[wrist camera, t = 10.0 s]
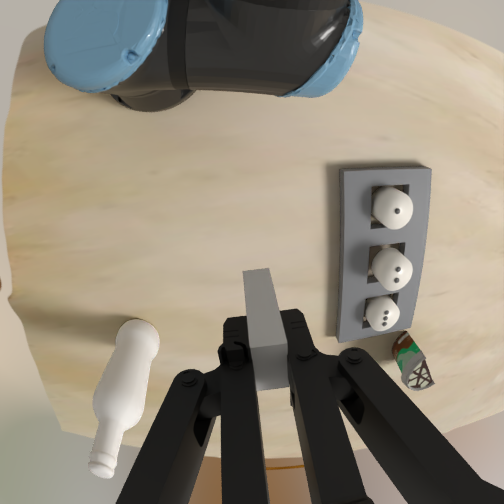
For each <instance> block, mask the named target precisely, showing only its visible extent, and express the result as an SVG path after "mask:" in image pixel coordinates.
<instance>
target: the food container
mask: <svg viewBox="0 0 504 504" xmlns="http://www.w3.org/2000/svg"><path fill="white" fill-rule="evenodd" d="M392 353H393V356H394V358H395V360H396V362H397V364H398V366H399V368H400V371H401V373H402V376H401V380H402V382H403V383H404V384H405V385H406V386H407V387H408V388H409V389H411V390H414V391H419V390H423V389H426V388H429V387H430V386H432V385H434V384H435V383H434V381H433V380H432V378H431V375H430V372H429V369H428V366H427V364H426V361H425V359H426V357H425V356H424V354H423V353H422V351H421V350H420V349H419V348H418V346H417V345H416V343H415V342H414V341H413V339H412V338H411V336H410V335H409V334H408V332H407V331H405V332H404V333H402V334H401V335H400V336H399V337H398V338H397V340H396V341H395V343H394V345H393V348H392Z"/></svg>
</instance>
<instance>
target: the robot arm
mask: <svg viewBox="0 0 504 504" xmlns="http://www.w3.org/2000/svg"><path fill="white" fill-rule="evenodd" d="M362 29H363V12H362V8H361V5H360V3H359V2H358V0H60V1H59V2H58V4H57V5H56V7H55V8H54V10H53V12H52V14H51V16H50V18H49V21H48V24H47V27H46V31H45V36H44V54H45V59H46V62H47V65H48V67H49V69H50V71H51V72H52V73H53V74H54V75H55V77H56V78H57V79H58V80H59V81H60V82H62V83H63V84H65V85H67V86H70V87H73V88H75V89H77V90H79V91H81V92H87V93H97V92H101V93H108V94H111V96H112V97H113V98H114V99H115V100H116V101H117V102H119V103H120V104H122V105H123V106H125V107H127V108H129V109H132V110H136V111H142V112H158V111H163V110H167V109H170V108H173V107H175V106H177V105H179V104H181V103H182V102H184V101H185V100H187V99H188V98H189V97H190V96H191V95H192V94H193V93H194V92H195V91H196V90H213V91H232V92H246V93H257V94H267V95H275V96H277V97H290V96H297V97H309V98H314V97H320V96H323V95H325V94H327V93H329V92H330V91H332V90H333V89H334V88H335V87H336V86H337V85H338V84H339V83H340V82H341V81H342V80H343V78H344V77H345V75H346V74H347V72H348V71H349V69H350V67H351V65H352V63H353V61H354V59H355V56H356V54H357V51H358V48H359V44H360V43H359V42H358V37H359V35H360V34H361V33H362ZM243 279H244V291H245V302H246V313H247V316H240V317H231V318H227V320H226V321H225V323H224V324H223V344H222V345H221V346H220V347H219V349H218V355H219V360H220V364H221V365H220V366H219V367H218V368H216V369H215V370H213V371H210V372H207V373H204V374H203V373H202V372H200V371H199V370H195V369H188V370H184V371H182V372H180V373H179V374H177V376H176V377H175V378H174V380H173V382H172V384H171V386H170V388H169V391H168V393H167V395H166V397H165V399H164V401H163V403H162V405H161V407H160V409H159V412H158V414H157V416H156V418H155V420H154V422H153V424H152V426H151V428H150V431H149V433H148V435H147V437H146V439H145V441H144V443H143V445H142V448H141V450H140V452H139V454H138V456H137V458H136V460H135V463H134V465H133V467H132V469H131V471H130V473H129V476H128V478H127V480H126V482H125V484H124V486H123V489H122V491H121V493H120V495H119V497H118V499H117V502H116V504H188V503H189V500H190V497H191V494H192V491H193V488H194V485H195V482H196V479H197V476H198V473H199V470H200V467H201V463H202V460H203V457H204V454H205V451H206V448H207V445H208V442H209V439H210V436H211V432H212V429H213V426H214V423H215V420H216V416H219V415H221V473H222V474H221V477H222V504H270V500H269V492H268V483H267V475H266V466H265V458H264V449H263V441H262V432H261V423H260V414H259V405H258V397H257V391H262V390H270V389H278V388H285V387H289V386H290V402H291V406H292V407H293V411H294V416H295V421H296V426H297V431H298V436H299V441H300V446H301V451H302V456H303V461H304V466H305V471H306V476H307V481H308V487H309V492H310V497H311V502H312V504H374V502H373V501H372V499H370V498H369V497H368V496H367V495H366V492H365V489H364V486H363V483H362V479H361V476H360V473H359V469H358V466H357V463H356V460H355V457H354V453H353V450H352V447H351V444H350V441H349V438H348V435H347V431H346V428H345V425H344V422H343V419H342V416H341V413H340V410H339V408H340V409H341V410H342V412H343V413H344V415H345V416H346V418H347V419H348V420H349V422H350V423H351V425H352V426H353V428H354V429H355V430H356V432H357V433H358V435H359V436H360V437H361V439H362V440H363V442H364V443H365V444H366V446H367V447H368V449H369V450H370V452H371V453H372V454H373V456H374V457H375V459H376V460H377V461H378V463H379V464H380V466H381V467H382V468H383V470H384V471H385V473H386V474H387V475H388V477H389V478H390V480H391V481H392V482H393V484H394V485H395V486H396V488H397V489H398V490H399V492H400V493H401V495H402V496H403V497H404V499H405V500H406V501H407V503H408V504H504V490H503V489H501V488H498V487H496V486H494V485H492V484H490V483H488V482H486V481H484V480H482V479H481V478H480V477H479V476H478V474H477V473H476V472H475V471H474V470H473V469H472V468H471V467H470V465H469V464H468V463H467V462H466V461H465V460H464V459H463V457H462V456H461V455H460V454H459V453H458V452H457V451H456V450H455V448H454V447H453V446H452V445H451V444H450V443H449V442H448V441H447V439H446V438H445V437H444V436H443V435H442V434H441V433H440V432H439V431H438V429H437V428H436V427H435V426H434V425H433V424H432V423H431V422H430V421H429V419H428V418H427V417H426V416H425V415H424V414H423V413H422V412H421V411H420V409H419V408H418V407H417V406H416V405H415V404H414V403H413V402H412V401H411V400H410V398H409V397H408V396H407V395H406V394H405V393H404V392H403V391H402V390H401V389H400V387H399V386H398V385H397V384H396V383H395V382H394V381H393V380H392V379H391V378H390V377H389V375H388V374H387V373H386V372H385V371H384V370H383V369H382V368H381V367H380V366H379V365H378V364H377V362H376V361H375V360H374V359H373V358H372V357H371V356H370V355H369V354H368V353H367V352H366V351H365V350H363V349H360V348H353V347H352V348H347V349H345V350H343V351H342V352H341V353H340V355H339V356H335V355H326V354H323V353H321V352H319V350H318V349H317V348H315V346H314V344H313V341H312V338H311V335H310V332H309V329H308V327H307V323H306V320H305V318H304V315H303V313H302V312H300V311H299V310H298V309H290V310H283V311H279V307H278V303H277V299H276V295H275V291H274V287H273V283H272V279H271V275H270V271H269V268H265V269H257V270H248V271H243ZM338 406H339V407H338Z"/></svg>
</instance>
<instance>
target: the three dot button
mask: <svg viewBox="0 0 504 504" xmlns="http://www.w3.org/2000/svg"><path fill="white" fill-rule="evenodd" d="M364 315H365V317H366V319H367V320H368V322H369V324H370V325H371V327H372V328H373V329H374V330H376V331H385V330H387V329H389V328H391V327H392V326H393V325H394V324H395V323H396V322H397V320H398V318H399V315H400V311H399V308H398V307H397V305H396V304H395V303H394V302H393V300H392V299H391V298H390V296H389V295H388V294H387V295H382V296H376V297H370V298H368V299H367V301H366V302H365V307H364Z"/></svg>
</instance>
